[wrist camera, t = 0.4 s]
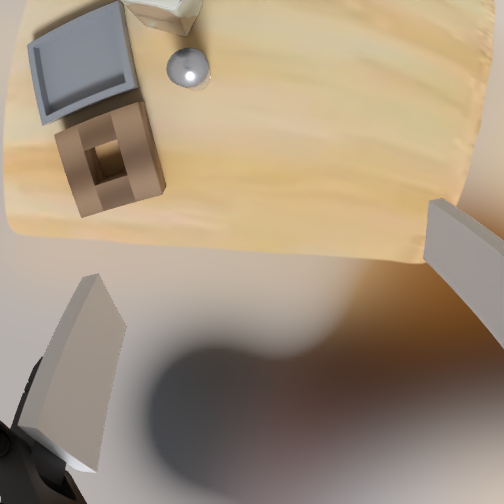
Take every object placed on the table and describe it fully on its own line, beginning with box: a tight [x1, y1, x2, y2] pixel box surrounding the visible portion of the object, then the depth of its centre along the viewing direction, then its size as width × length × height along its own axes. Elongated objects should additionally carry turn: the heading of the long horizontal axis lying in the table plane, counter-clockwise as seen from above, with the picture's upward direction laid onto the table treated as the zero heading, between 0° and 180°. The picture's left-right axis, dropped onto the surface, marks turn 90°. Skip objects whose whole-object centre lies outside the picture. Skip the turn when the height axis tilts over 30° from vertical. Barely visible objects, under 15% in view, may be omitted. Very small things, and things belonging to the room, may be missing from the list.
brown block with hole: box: [54, 102, 166, 218], centre depth 29 cm, size 10×10×3 cm
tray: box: [27, 1, 139, 125], centre depth 23 cm, size 11×12×2 cm
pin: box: [167, 48, 211, 90], centre depth 22 cm, size 3×3×12 cm
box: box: [121, 0, 202, 36], centre depth 19 cm, size 5×4×11 cm
